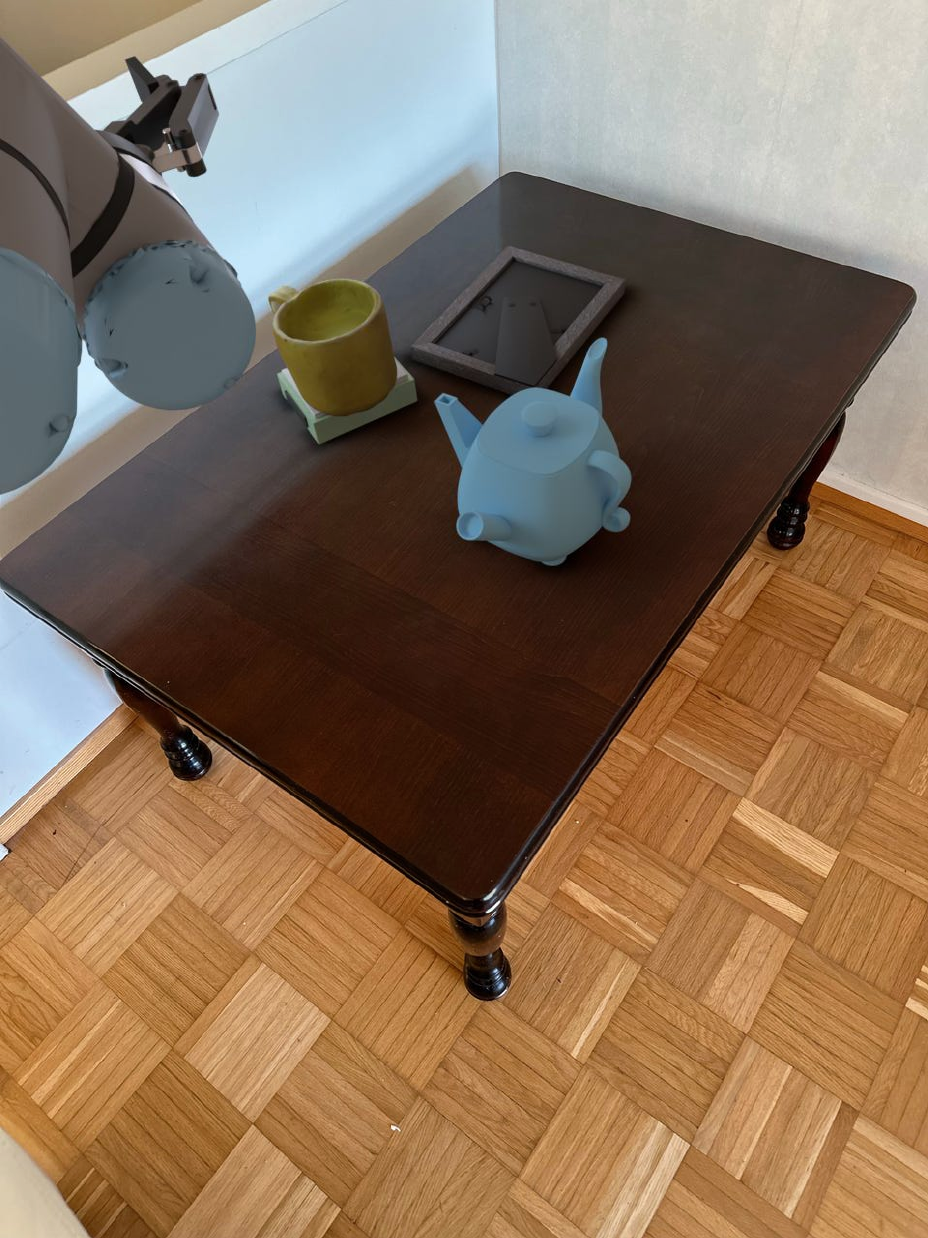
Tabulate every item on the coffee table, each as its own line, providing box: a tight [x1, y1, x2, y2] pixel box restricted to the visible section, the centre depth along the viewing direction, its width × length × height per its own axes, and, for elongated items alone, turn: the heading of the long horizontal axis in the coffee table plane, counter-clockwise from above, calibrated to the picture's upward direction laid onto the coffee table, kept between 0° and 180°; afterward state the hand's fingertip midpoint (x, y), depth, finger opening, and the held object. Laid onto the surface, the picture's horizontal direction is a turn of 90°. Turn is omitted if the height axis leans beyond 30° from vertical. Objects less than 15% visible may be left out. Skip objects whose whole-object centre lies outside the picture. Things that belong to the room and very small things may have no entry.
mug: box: [267, 278, 397, 416], centre depth 77 cm, size 12×10×10 cm
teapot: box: [433, 337, 632, 567], centre depth 69 cm, size 15×14×11 cm
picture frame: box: [410, 245, 626, 396], centre depth 87 cm, size 13×2×18 cm
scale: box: [276, 356, 418, 445], centre depth 82 cm, size 10×8×3 cm
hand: (45, 109), depth 63 cm, fingers open, 13 cm apart
